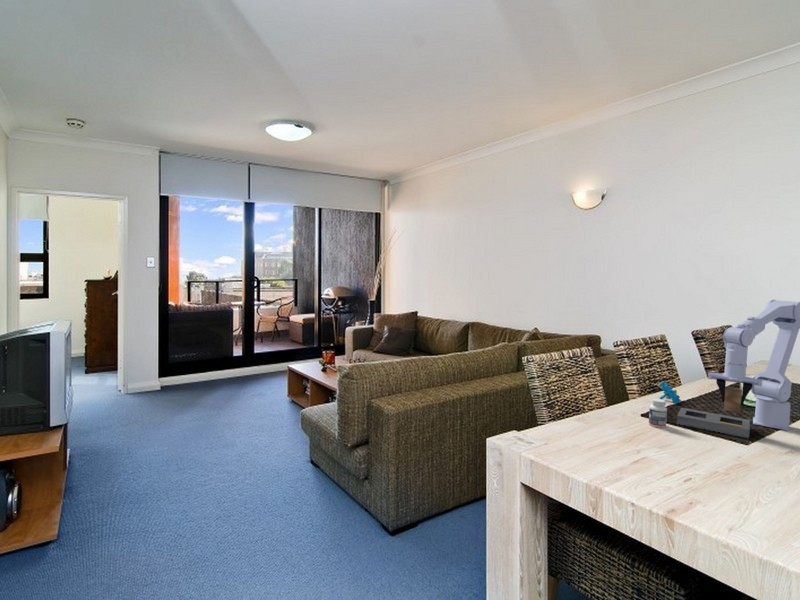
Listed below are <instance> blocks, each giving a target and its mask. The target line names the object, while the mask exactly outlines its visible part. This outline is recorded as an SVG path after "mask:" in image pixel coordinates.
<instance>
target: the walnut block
mask: <svg viewBox="0 0 800 600" xmlns="http://www.w3.org/2000/svg"><path fill="white" fill-rule="evenodd" d="M742 390H743V388H742V389H741V388H735V387H729V386H725V399H724V402H723V403H724V404H723V410H724V411H727V412H734V413H739V414H740V413H741V407H742V405H741V398H742Z"/></svg>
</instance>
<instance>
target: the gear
mask: <svg viewBox="0 0 800 600" xmlns="http://www.w3.org/2000/svg"><path fill="white" fill-rule="evenodd" d="M659 386H660V389H661V391H663V392H662V393H663V395H661V396H660V397H658V399H662V400H664V399H668V400H671V401H672V402H673V403H674V404H675V403H676V404H677V403H679V404H681V403H680V402H681V401H682V400H681V398H680V395H678V391H677V390H676V389H673V387H672V385H670V386H669V383H668V382H664V381H661V382H660V383H659Z"/></svg>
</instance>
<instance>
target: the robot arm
mask: <svg viewBox="0 0 800 600" xmlns="http://www.w3.org/2000/svg"><path fill="white" fill-rule="evenodd" d="M771 322H772V323H773V325H775V326H777V327H778V333H777V335H776V339H775V342H774V344H773V347H772V350H771V352H770V356H769V360H768V363H767V366H766V368H765V370H762V371H760V372H758V373H757V372H756V375H755V377H749V376H746V375H747V373H746V372H747V361H748V350H749V346H751V345H752V344H753V342H754V340H755V338H756V336H757V335H759V334H760V333H762V332H763V331H765V329H766V325H768V324H769V323H771ZM799 331H800V301H793V300H790V301H789V300H780V299H779V300H778V299H777V300H776V299H771V300H770V301H768V302H767V303H766V304H765V309H763V310H762V311H761V312H760V313H759V314H758V315H757V316H748V317H747V318H746V319H745V320H743V321H742V322H741V323H738V324H737V325H736V326H735V327H734V326H730V327H729V328H726V329H725V330H724V332H723V334H722V340H723V343H724V348H725V361H724V373H720V372H708V374H707V376H708V377H707V379H708V380H716V385H717V387H718V389H719V392H720V396H721V402H722V403H724V399H725V389H726V385H727V383H726V382H730V383H731V382H732V383H738V384H742V396H741V407H742V406H744V403H745V401H746V398H747V396H748V395H749V393H750V391H751V393H752V394H753V395H754V396H753V397H754V398H755V410H754V411H755V412H754V416H753V417H752V425H757V426H762V427H769V428H773V429H778V430H785V431H789V429H790V428H789V426H790V424H791V418H790V417H791V416H790V414H791V402H788V400H789V399H790V397H791V394H792V384H793V382H792V381H791V380H790V379H789V378H788V376H786V372H787V368H788V365H789V363H790V359H791V356H792V352H793V349H794V346H795V343H796V340H797V338H798V335H799ZM786 401H787V402H786Z"/></svg>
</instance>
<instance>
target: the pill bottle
mask: <svg viewBox="0 0 800 600" xmlns="http://www.w3.org/2000/svg"><path fill="white" fill-rule="evenodd" d="M666 403H667V402H666V400H665V399H659V398H652V399H651V404H650V406H649V413H648V424H649V425H650V426H651V427H655V428H659V427H660V429H661V428H663V427H664V428H666V427H667V415H668V408H667V407H666ZM664 428H663V429H664Z"/></svg>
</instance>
